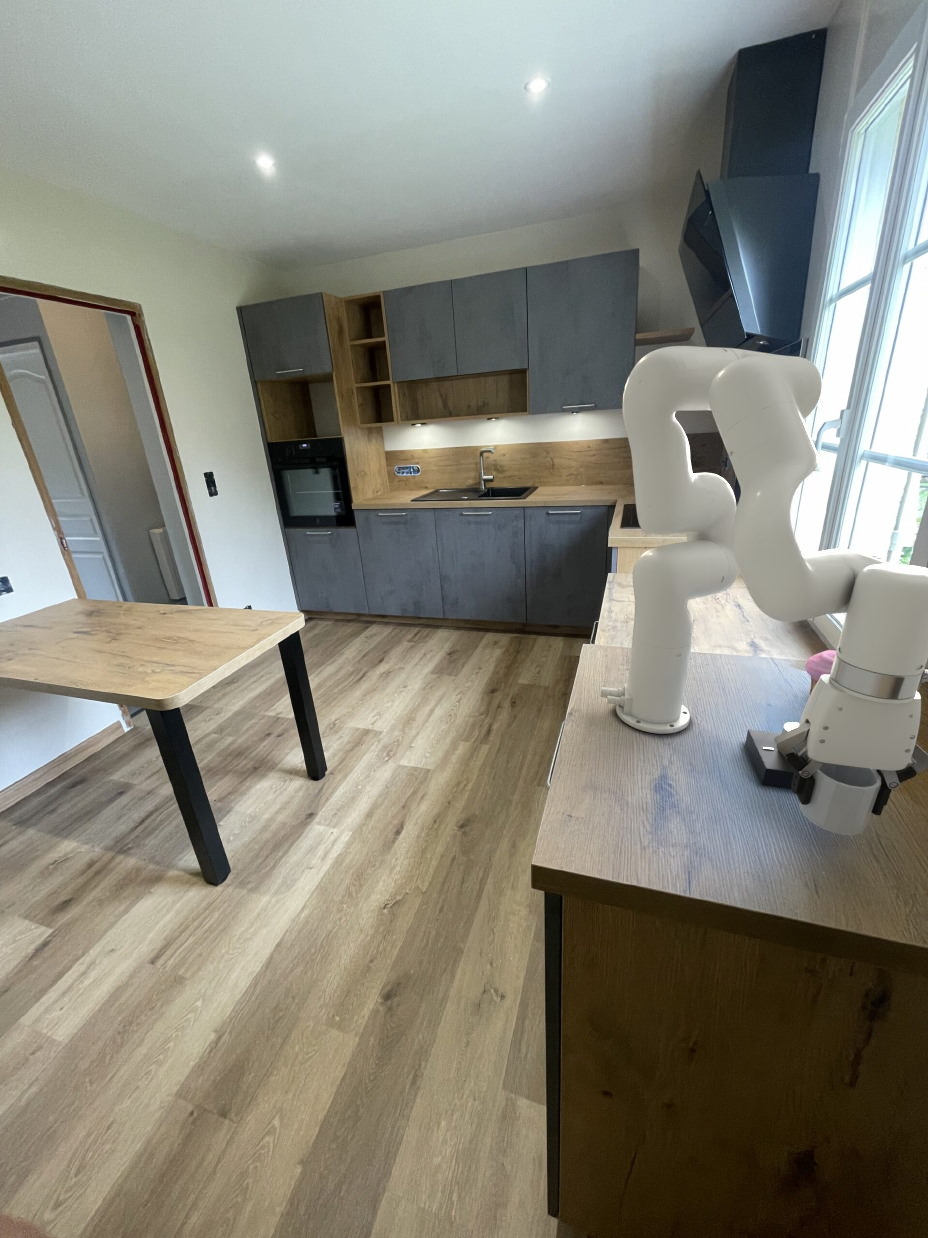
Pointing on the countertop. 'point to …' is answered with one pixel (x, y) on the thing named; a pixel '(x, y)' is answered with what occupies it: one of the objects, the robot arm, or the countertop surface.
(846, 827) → the pot
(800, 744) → the oven knob
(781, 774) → the panel
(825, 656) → the cupcake
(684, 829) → the countertop surface
